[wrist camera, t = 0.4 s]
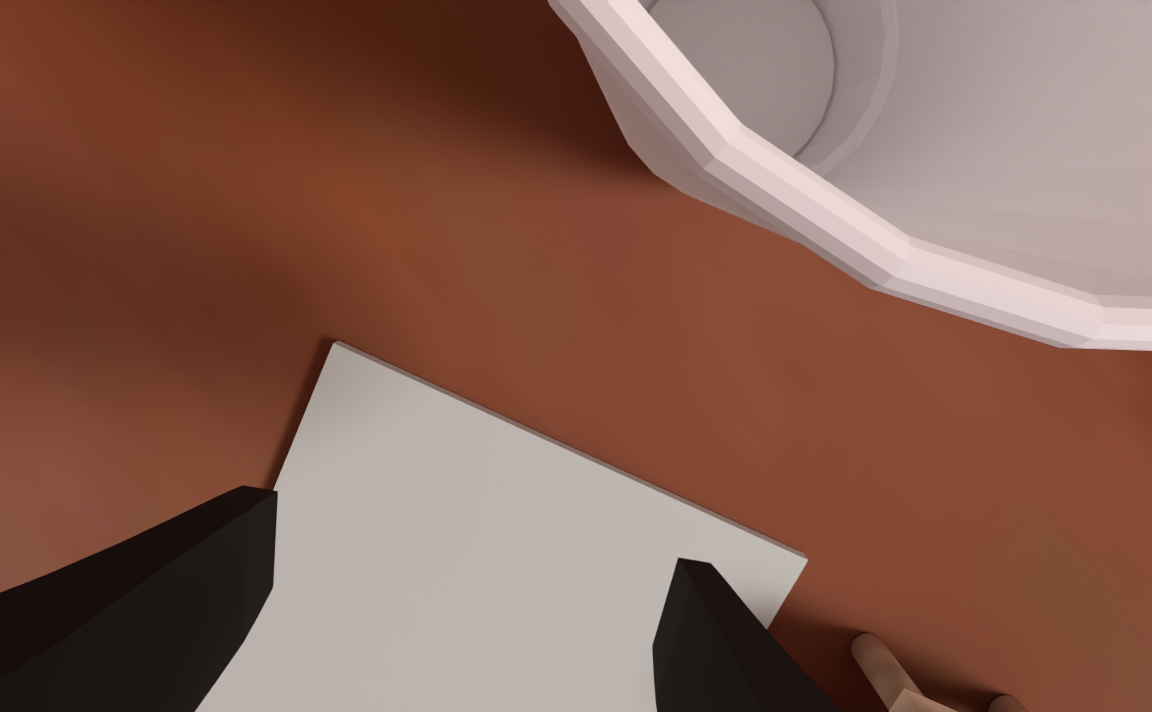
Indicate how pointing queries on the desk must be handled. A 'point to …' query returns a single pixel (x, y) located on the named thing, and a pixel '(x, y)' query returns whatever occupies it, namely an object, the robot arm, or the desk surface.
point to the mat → (468, 562)
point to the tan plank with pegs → (905, 681)
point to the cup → (911, 142)
